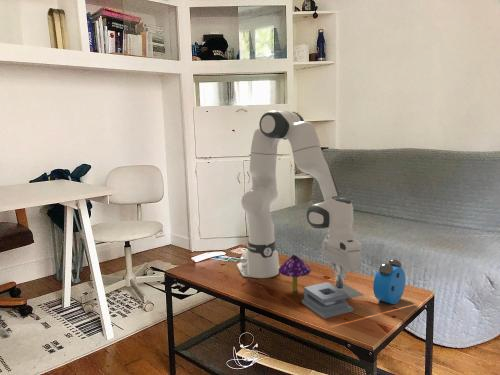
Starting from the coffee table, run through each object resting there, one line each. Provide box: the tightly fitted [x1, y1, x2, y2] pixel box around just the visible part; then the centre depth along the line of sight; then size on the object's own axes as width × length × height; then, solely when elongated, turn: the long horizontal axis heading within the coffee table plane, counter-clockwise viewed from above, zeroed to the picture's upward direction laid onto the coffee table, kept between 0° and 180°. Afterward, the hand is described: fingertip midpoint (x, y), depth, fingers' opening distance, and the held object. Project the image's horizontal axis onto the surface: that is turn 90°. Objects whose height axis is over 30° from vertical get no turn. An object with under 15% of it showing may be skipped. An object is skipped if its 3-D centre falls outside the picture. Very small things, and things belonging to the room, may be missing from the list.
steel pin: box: [334, 264, 345, 289], centre depth 152 cm, size 3×3×10 cm
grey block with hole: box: [301, 282, 355, 320], centre depth 140 cm, size 14×12×6 cm
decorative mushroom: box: [279, 254, 312, 293], centre depth 154 cm, size 12×12×15 cm
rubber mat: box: [340, 283, 365, 301], centre depth 153 cm, size 12×12×1 cm
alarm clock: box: [372, 258, 406, 305], centre depth 143 cm, size 13×6×15 cm, turn 135°
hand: (339, 275), depth 152 cm, fingers closed on steel pin, 3 cm apart
